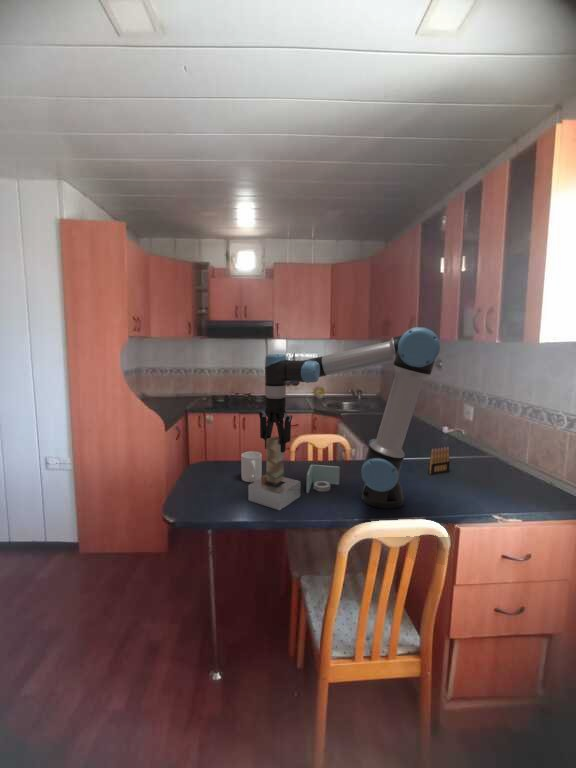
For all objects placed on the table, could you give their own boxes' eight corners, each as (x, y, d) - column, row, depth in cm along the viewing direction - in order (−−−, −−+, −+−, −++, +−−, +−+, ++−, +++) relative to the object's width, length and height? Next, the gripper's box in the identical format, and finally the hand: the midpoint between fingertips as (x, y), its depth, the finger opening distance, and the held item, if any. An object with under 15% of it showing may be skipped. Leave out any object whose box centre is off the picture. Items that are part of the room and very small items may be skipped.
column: (283, 479, 137) (284, 437, 135) (276, 483, 133) (276, 440, 131) (273, 476, 140) (273, 436, 138) (266, 480, 136) (266, 438, 134)
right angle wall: (306, 493, 143) (306, 474, 142) (310, 481, 155) (310, 464, 154) (337, 496, 141) (337, 477, 140) (339, 484, 152) (339, 466, 151)
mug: (244, 486, 148) (243, 461, 147) (240, 476, 159) (240, 452, 158) (264, 484, 150) (265, 459, 149) (259, 474, 162) (259, 450, 160)
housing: (300, 496, 140) (300, 476, 139) (279, 510, 128) (279, 488, 127) (270, 487, 147) (270, 468, 146) (248, 500, 135) (248, 479, 134)
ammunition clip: (431, 475, 163) (432, 449, 162) (428, 473, 165) (429, 447, 163) (449, 472, 167) (451, 446, 166) (446, 470, 169) (448, 445, 167)
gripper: (301, 397, 131) (300, 460, 134) (262, 393, 141) (262, 452, 143) (290, 400, 125) (289, 466, 128) (249, 395, 134) (250, 457, 137)
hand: (275, 458), depth 136 cm, fingers closed on column, 4 cm apart
